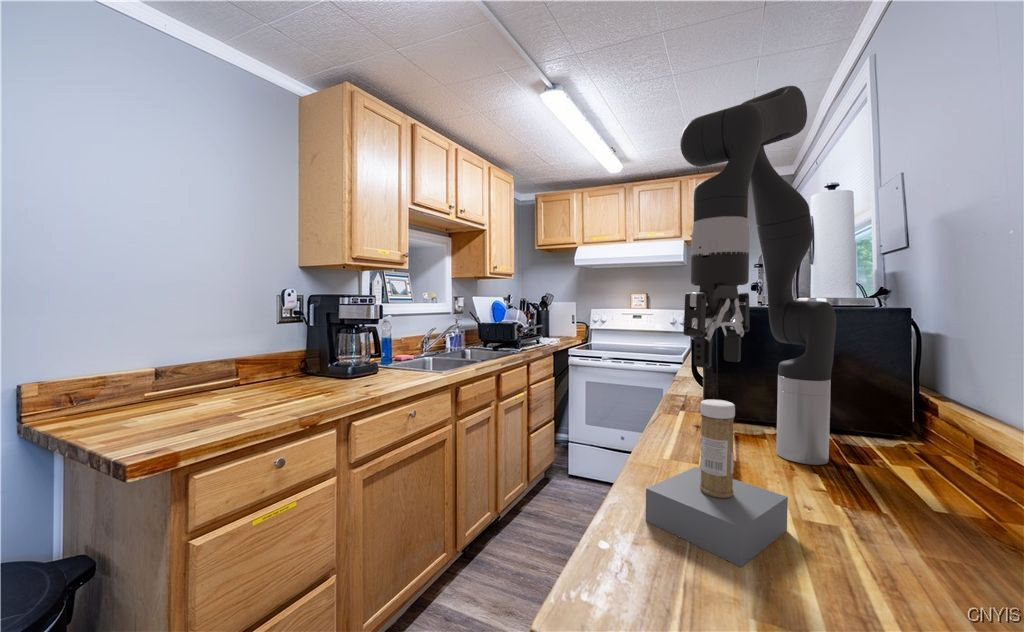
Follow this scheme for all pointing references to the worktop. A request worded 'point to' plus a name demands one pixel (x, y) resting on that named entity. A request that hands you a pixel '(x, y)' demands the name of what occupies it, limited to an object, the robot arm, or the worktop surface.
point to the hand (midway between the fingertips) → (717, 364)
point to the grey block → (718, 516)
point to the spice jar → (717, 448)
